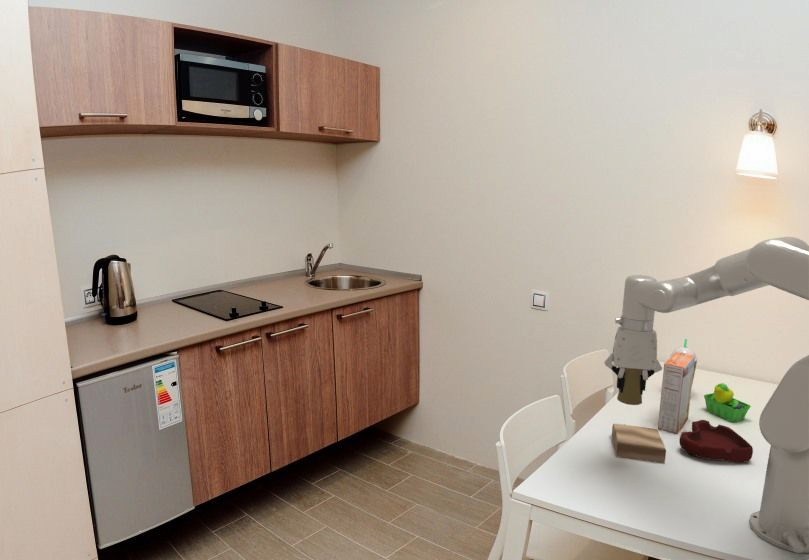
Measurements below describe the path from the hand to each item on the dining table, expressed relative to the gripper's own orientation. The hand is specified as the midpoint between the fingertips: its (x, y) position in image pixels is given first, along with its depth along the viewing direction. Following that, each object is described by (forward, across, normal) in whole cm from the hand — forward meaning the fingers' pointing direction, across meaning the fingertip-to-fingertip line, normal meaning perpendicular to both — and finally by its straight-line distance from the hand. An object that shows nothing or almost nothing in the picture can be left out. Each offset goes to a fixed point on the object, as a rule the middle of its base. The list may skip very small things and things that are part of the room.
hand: (630, 391), depth 141 cm
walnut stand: (+19, +4, +6) cm, 21 cm away
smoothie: (+19, +26, +51) cm, 60 cm away
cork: (+3, 0, 0) cm, 3 cm away
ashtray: (+20, +26, +10) cm, 34 cm away
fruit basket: (+19, +36, +36) cm, 54 cm away
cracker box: (+19, +18, +26) cm, 37 cm away
